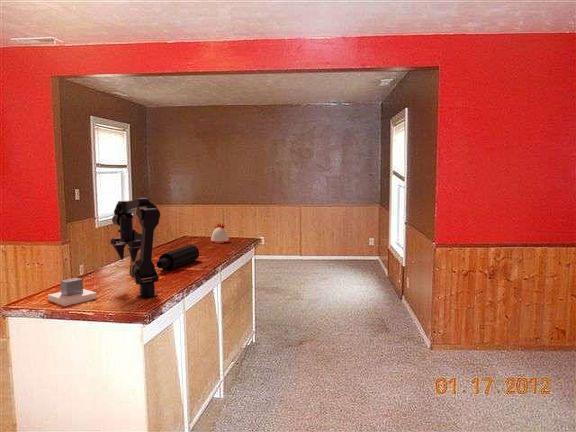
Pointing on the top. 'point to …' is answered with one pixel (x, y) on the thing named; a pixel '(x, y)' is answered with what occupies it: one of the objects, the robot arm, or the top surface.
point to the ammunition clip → (132, 264)
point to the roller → (178, 257)
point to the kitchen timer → (219, 234)
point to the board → (72, 297)
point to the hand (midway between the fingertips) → (127, 260)
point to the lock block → (71, 286)
